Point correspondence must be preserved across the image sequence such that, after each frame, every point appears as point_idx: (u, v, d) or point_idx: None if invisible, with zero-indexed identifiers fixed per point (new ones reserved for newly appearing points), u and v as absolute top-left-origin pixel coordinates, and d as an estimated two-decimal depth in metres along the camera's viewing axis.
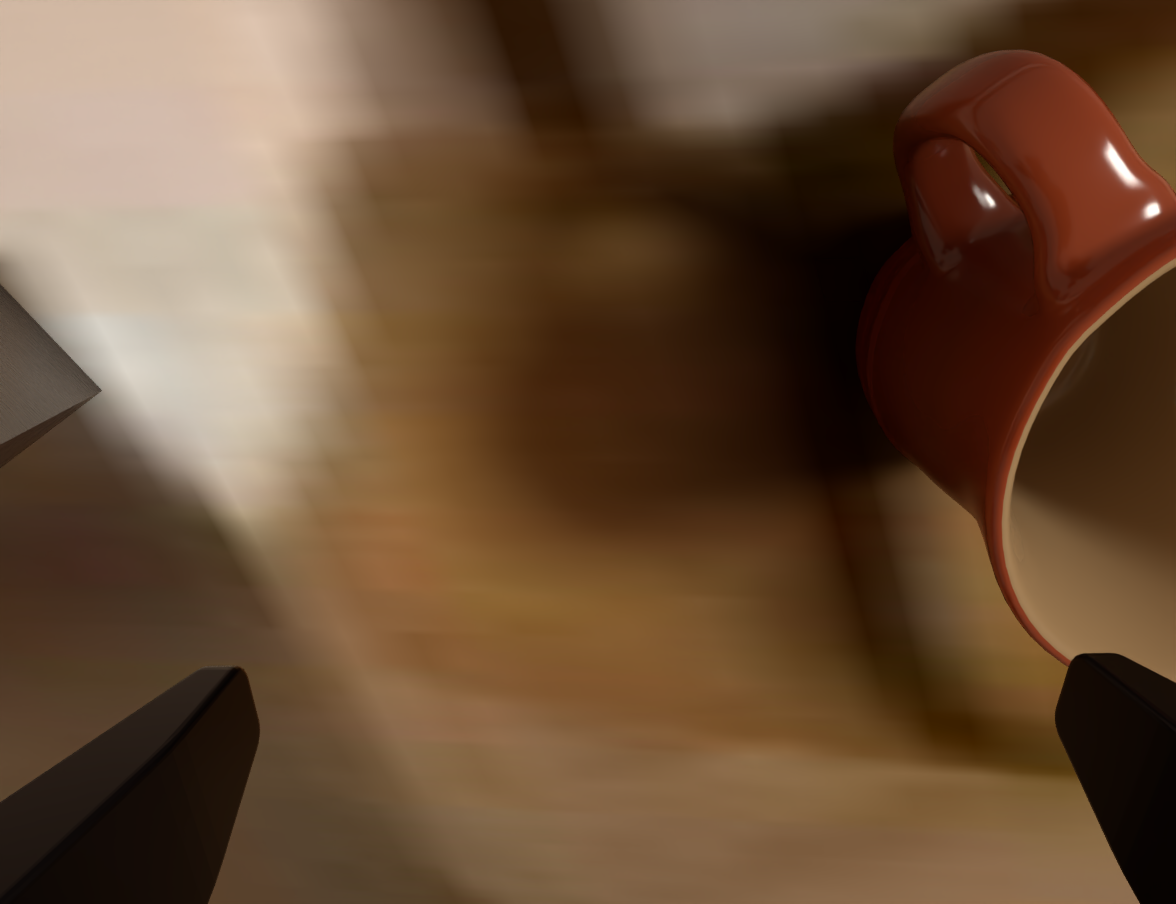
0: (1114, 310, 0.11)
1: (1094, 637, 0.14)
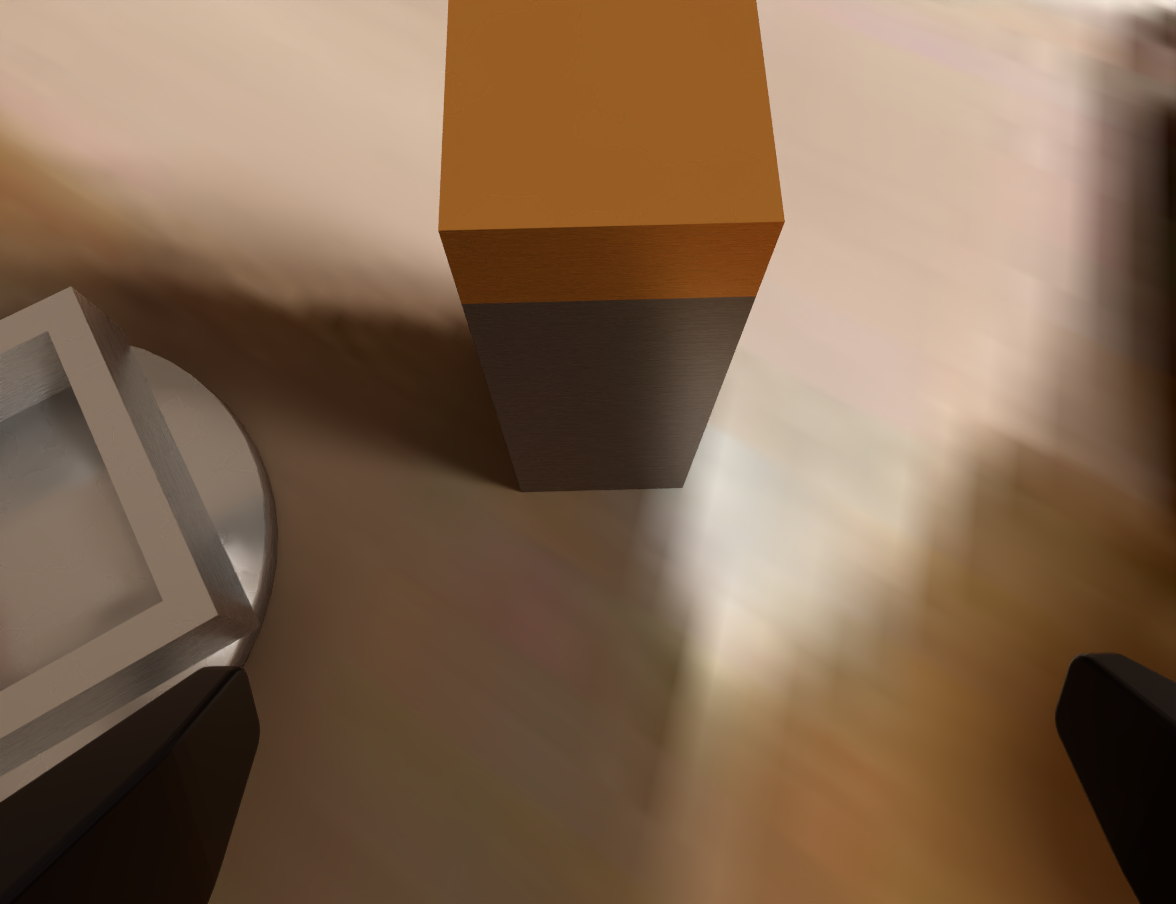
0: None
1: None
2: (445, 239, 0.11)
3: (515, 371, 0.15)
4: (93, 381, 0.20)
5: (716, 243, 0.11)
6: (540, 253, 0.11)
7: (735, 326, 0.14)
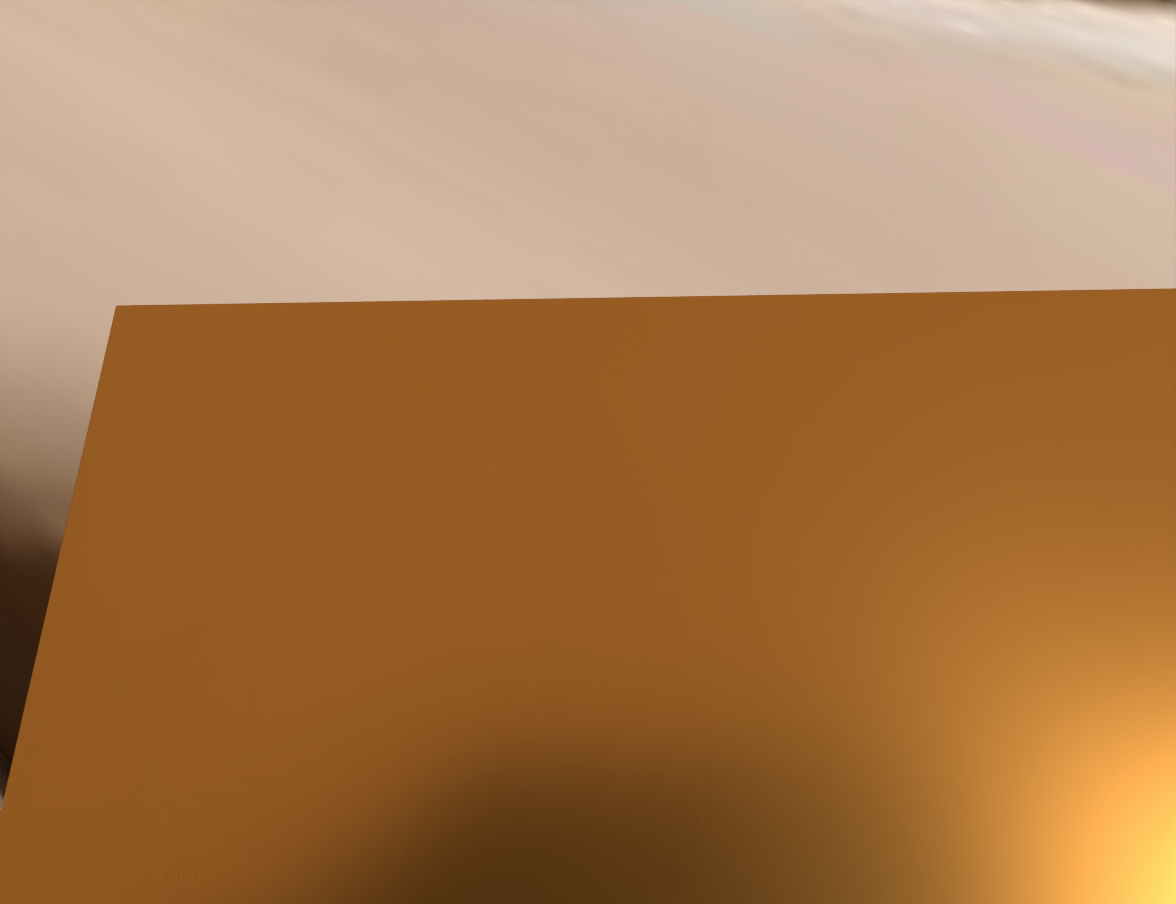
0: None
1: None
2: None
3: None
4: None
5: None
6: None
7: None
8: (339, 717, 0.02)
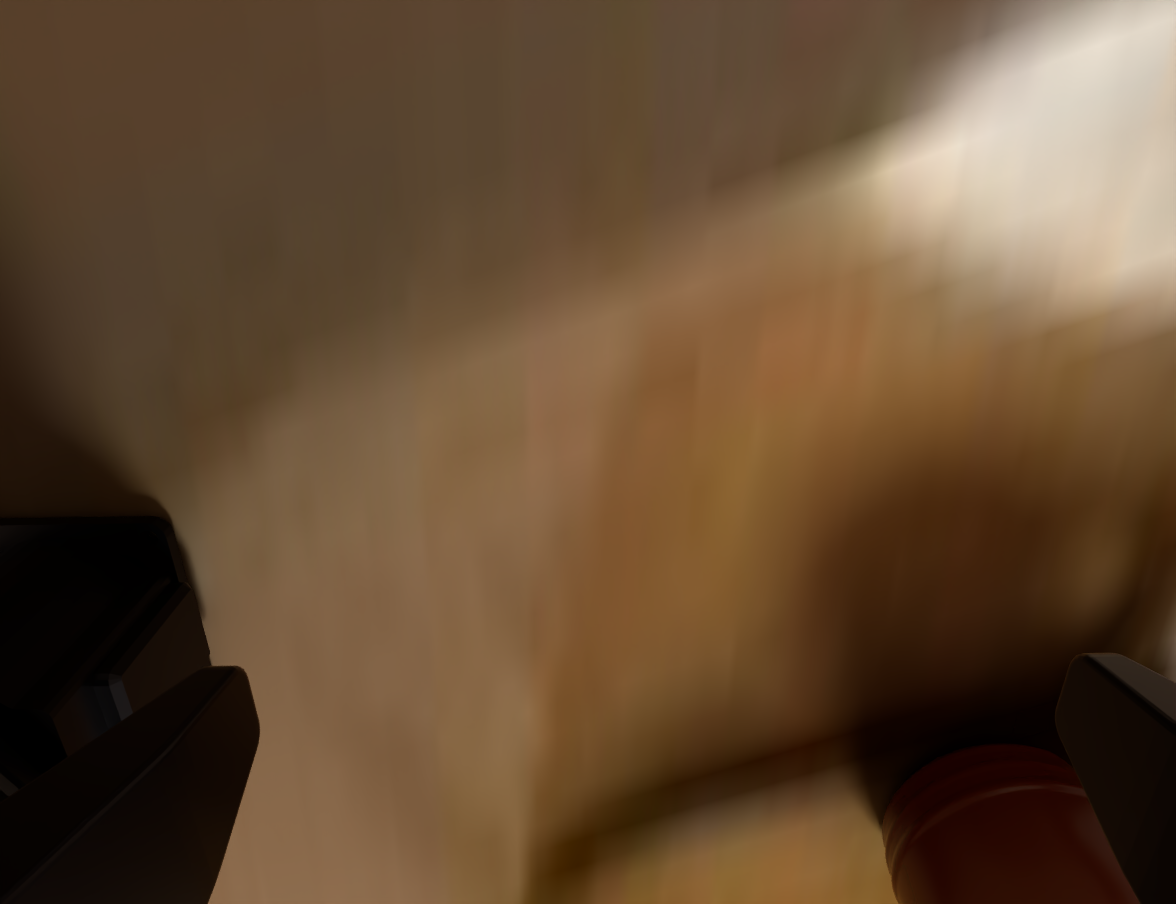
0: None
1: None
2: None
3: None
4: None
5: None
6: None
7: None
8: None
